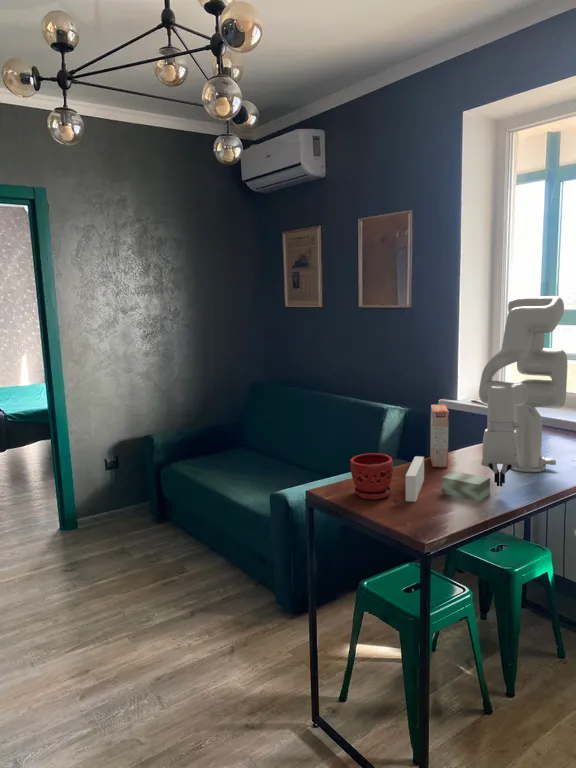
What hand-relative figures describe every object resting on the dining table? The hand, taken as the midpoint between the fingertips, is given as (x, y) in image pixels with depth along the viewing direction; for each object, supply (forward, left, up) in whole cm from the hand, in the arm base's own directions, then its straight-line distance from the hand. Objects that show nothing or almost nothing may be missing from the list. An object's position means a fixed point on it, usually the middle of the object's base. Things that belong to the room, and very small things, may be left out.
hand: (499, 484), depth 174 cm
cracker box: (+21, -33, -4) cm, 39 cm away
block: (+10, 0, -4) cm, 11 cm away
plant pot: (+38, +8, -4) cm, 39 cm away
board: (+25, 0, -4) cm, 26 cm away
